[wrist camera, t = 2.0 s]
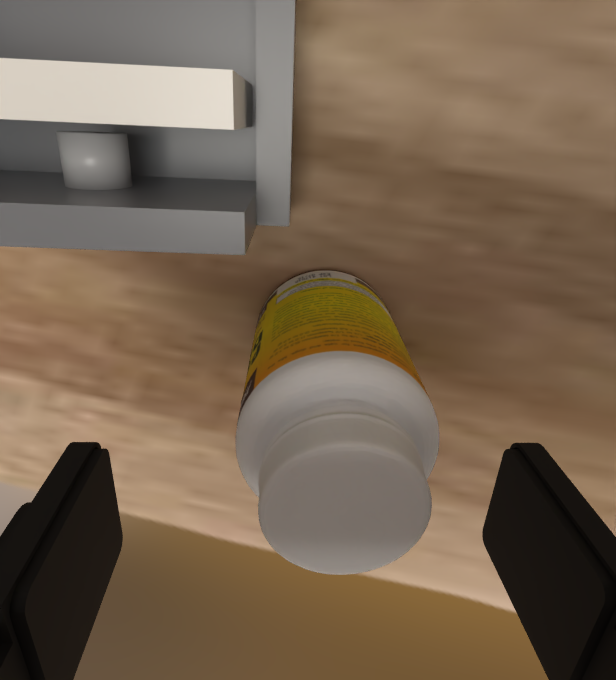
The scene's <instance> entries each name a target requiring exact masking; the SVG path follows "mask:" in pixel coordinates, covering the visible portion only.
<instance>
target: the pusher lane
mask: <svg viewBox="0 0 616 680" xmlns="http://www.w3.org/2000/svg"><path fill="white" fill-rule="evenodd" d="M295 28H296V0H0V58H12V59H31V60H51V61H70V62H90V63H109V64H129V65H149V66H168V67H188V68H207V69H227V70H233V71H235V72H236V73H237V74H239V75H240V76H241V77H243V78H244V79H245V80H247V81H248V82H249V83H251V84H252V127H248V128H242V129H236V130H226V129H204V128H183V127H161V126H140V125H118V124H96V123H75V122H53V121H32V120H10V119H0V246H10V247H37V248H64V249H92V250H119V251H146V252H173V253H201V254H228V255H245V254H246V251H247V249H248V246H249V243H250V241H251V238H252V236H253V233H254V230H255V228H256V225H264V226H289V223H290V210H291V177H292V140H293V103H294V66H295Z"/></svg>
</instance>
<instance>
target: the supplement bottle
mask: <svg viewBox="0 0 616 680" xmlns="http://www.w3.org/2000/svg"><path fill="white" fill-rule="evenodd" d="M438 449H439V426H438V421H437V418H436V414H435V411H434V408H433V406H432V403H431V401H430V398H429V396H428V394H427V392H426V390H425V388H424V386H423V384H422V382H421V380H420V378H419V376H418V373H417V371H416V369H415V367H414V365H413V363H412V361H411V358H410V356H409V354H408V352H407V350H406V347H405V345H404V343H403V341H402V339H401V337H400V335H399V333H398V330H397V328H396V326H395V324H394V322H393V320H392V317H391V315H390V313H389V311H388V309H387V307H386V305H385V304H384V302H383V300H382V299H381V298H380V296H379V295H378V294H377V293H376V292H375V291H374V290H373V289H372V288H371V287H370V286H369V285H368V284H366V283H365V282H364V281H362V280H360V279H358V278H357V277H354V276H352V275H350V274H346V273H343V272H338V271H328V270H322V271H313V272H308V273H304V274H301V275H299V276H296V277H294V278H292V279H290V280H288V281H287V282H285V283H284V284H282V285H281V286H280V287H279V288H278V289H276V290H275V291H274V292H273V294H272V295H271V296H270V297H269V298H268V300H267V301H266V303H265V304H264V306H263V308H262V310H261V313H260V315H259V318H258V322H257V326H256V331H255V336H254V341H253V346H252V351H251V356H250V361H249V367H248V372H247V378H246V383H245V388H244V393H243V398H242V401H241V408H240V413H239V418H238V423H237V431H236V455H237V459H238V463H239V467H240V469H241V472H242V474H243V476H244V478H245V480H246V482H247V483H248V485H249V487H250V488H251V489H252V490H253V492H254V493H255V494H256V495H257V496H258V497H259V503H258V515H259V522H260V526H261V529H262V532H263V534H264V536H265V538H266V539H267V541H268V542H269V544H270V545H271V546H272V548H273V549H274V550H275V551H276V552H277V553H278V554H280V555H281V556H282V557H284V558H285V559H286V560H288V561H289V562H291V563H293V564H295V565H297V566H300V567H302V568H304V569H307V570H310V571H314V572H318V573H324V574H340V575H344V574H357V573H362V572H367V571H371V570H374V569H377V568H380V567H382V566H385V565H387V564H389V563H391V562H393V561H395V560H397V559H398V558H400V557H401V556H402V555H404V554H405V553H406V552H408V551H409V550H410V549H411V548H412V547H413V546H414V545H415V544H416V543H417V542H418V540H419V539H420V538H421V536H422V534H423V533H424V531H425V529H426V527H427V525H428V522H429V519H430V515H431V508H432V502H431V499H432V498H431V493H430V489H429V485H428V482H427V479H428V477H429V475H430V473H431V471H432V469H433V467H434V464H435V461H436V458H437V455H438Z"/></svg>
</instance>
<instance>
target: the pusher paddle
mask: <svg viewBox="0 0 616 680" xmlns="http://www.w3.org/2000/svg"><path fill="white" fill-rule="evenodd" d="M0 119H10V120H32V121H53V122H75V123H96V124H118V125H140V126H161V127H183V128H204V129H226V130H236V129H242V128H248V127H252V84H251V83H249V82H248V81H247V80H245V79H244V78H243V77H241V76H240V75H239V74H237V73H236V72H235V71H233V70H227V69H207V68H188V67H168V66H149V65H129V64H109V63H90V62H70V61H51V60H31V59H12V58H0Z"/></svg>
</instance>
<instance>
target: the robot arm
mask: <svg viewBox="0 0 616 680" xmlns="http://www.w3.org/2000/svg"><path fill="white" fill-rule="evenodd" d="M122 536H123V535H122V528H121V522H120V516H119V510H118V504H117V498H116V492H115V486H114V480H113V474H112V468H111V462H110V456H109V452H108V450H107V449H101V446H100V444H99V443H97V442H72V443H70V444H69V445H68V446H67V448H66V450H65V451H64V453H63V454H62V456H61V457H60V459H59V460H58V462H57V463H56V465H55V467H54V468H53V470H52V471H51V473H50V474H49V476H48V477H47V479H46V480H45V482H44V484H43V485H42V487H41V488H40V490H39V491H38V493H37V494H36V496H35V498H34V499H33V501H32V502H31V503H26V504H24V505H22V506H21V508H19V510H18V511H17V512H16V514H15V515H14V517H13V518H12V520H11V521H10V523H9V524H8V526H7V527H6V529H5V530H4V532H3V533H2V535H1V536H0V680H73V679H74V676H75V673H76V671H77V668H78V665H79V662H80V660H81V657H82V654H83V652H84V649H85V646H86V643H87V641H88V638H89V635H90V633H91V630H92V627H93V624H94V622H95V619H96V616H97V613H98V611H99V608H100V605H101V603H102V600H103V597H104V594H105V592H106V589H107V586H108V584H109V581H110V578H111V575H112V573H113V570H114V567H115V565H116V562H117V559H118V556H119V554H120V551H121V547H122V538H123V537H122ZM483 542H484V545H485V547H486V550H487V552H488V554H489V556H490V558H491V560H492V562H493V564H494V566H495V568H496V570H497V572H498V575H499V577H500V579H501V581H502V583H503V585H504V587H505V589H506V591H507V593H508V595H509V598H510V600H511V602H512V604H513V606H514V608H515V610H516V612H517V614H518V616H519V618H520V620H521V623H522V625H523V627H524V629H525V631H526V633H527V635H528V637H529V639H530V641H531V643H532V645H533V647H534V650H535V652H536V654H537V656H538V658H539V660H540V662H541V664H542V666H543V668H544V671H545V673H546V675H547V677H548V679H549V680H616V537H615V536H614V534H613V533H612V532H611V531H610V529H609V528H608V527H607V526H606V524H605V523H604V522H603V521H602V519H601V518H600V517H599V516H598V514H597V513H596V512H595V511H594V509H593V508H592V507H591V506H590V504H589V503H588V502H587V501H586V499H585V498H584V497H583V496H582V494H581V493H580V492H579V491H578V489H577V488H576V487H575V486H574V485H573V483H572V482H571V481H570V480H569V478H568V477H567V476H566V475H565V473H564V472H563V471H562V470H561V468H560V467H559V466H558V465H557V463H556V462H555V461H554V460H553V458H552V457H551V456H550V455H549V453H548V452H547V451H546V450H545V448H544V447H543V446H542V445H541V444H539V443H514V444H512V446H511V448H510V449H506V450H505V451H504V454H503V457H502V461H501V465H500V468H499V472H498V476H497V479H496V483H495V487H494V490H493V494H492V498H491V501H490V505H489V509H488V513H487V516H486V520H485V524H484V527H483Z"/></svg>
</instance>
